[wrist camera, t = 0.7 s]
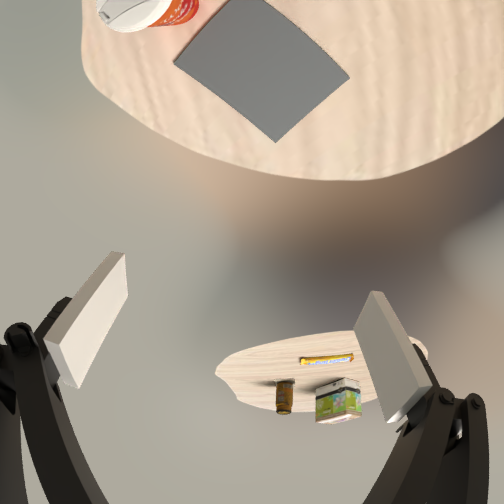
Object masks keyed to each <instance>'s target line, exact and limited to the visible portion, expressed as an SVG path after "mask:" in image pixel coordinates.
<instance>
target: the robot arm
mask: <svg viewBox="0 0 504 504" xmlns="http://www.w3.org/2000/svg"><path fill="white" fill-rule="evenodd" d="M125 269H126V268H125V254H124V253H119V252H113V251H112V252H111V253H110V254H109V255H108V256H107V257H106V258H105V260H104V261H103V262H102V263H101V264H100V265H99V267H98V268H97V269H96V270H95V271H94V272H93V274H92V275H91V276H90V277H89V279H88V280H87V281H86V282H85V284H84V285H83V286H82V287H81V288H80V290H79V291H78V292H77V294H76V295H75V296H74V297H73V298H69V297H65V298H63V299H62V300H60V301H59V302H57V303H56V305H55V306H54V307H53V308H52V310H51V311H50V312H49V314H48V315H47V317H46V318H45V319H44V320H43V321H42V323H41V324H40V325H39V327H38V328H37V329H36V331H35V332H34V333H33V332H32V329H31V327H30V326H29V325H28V324H26V323H23V322H21V323H15V324H13V325H11V326H10V327H9V328H8V329H7V330H6V332H5V334H4V339H5V341H6V343H7V345H1V344H0V504H28V499H27V494H26V488H25V481H24V474H23V464H22V453H21V433H20V416H21V420H22V424H23V429H24V433H25V437H26V440H27V444H28V447H29V451H30V454H31V457H32V460H33V463H34V466H35V469H36V472H37V475H38V477H39V480H40V483H41V485H42V488H43V490H44V493H45V495H46V497H47V499H48V502H49V504H109V503H108V502H107V500H106V498H105V497H104V495H103V493H102V491H101V489H100V488H99V486H98V484H97V482H96V480H95V478H94V476H93V474H92V472H91V470H90V468H89V466H88V464H87V462H86V460H85V457H84V455H83V453H82V451H81V448H80V446H79V444H78V441H77V438H76V436H75V434H74V431H73V428H72V425H71V423H70V420H69V417H68V414H67V411H66V408H65V405H64V402H63V399H62V396H61V392H60V389H59V386H58V384H57V381H58V379H59V376H61V378H62V380H63V382H64V384H66V385H69V386H72V387H74V388H77V389H79V388H80V386H81V384H82V382H83V380H84V378H85V376H86V373H87V371H88V369H89V367H90V365H91V363H92V361H93V359H94V357H95V355H96V354H97V351H98V350H99V348H100V346H101V344H102V342H103V340H104V338H105V336H106V335H107V333H108V331H109V329H110V327H111V325H112V324H113V321H114V320H115V318H116V316H117V315H118V313H119V311H120V309H121V308H122V306H123V304H124V302H125V300H126V299H127V297H128V293H127V282H126V270H125ZM353 329H354V331H355V334H356V337H357V339H358V342H359V345H360V347H361V350H362V353H363V356H364V358H365V361H366V364H367V367H368V370H369V372H370V375H371V378H372V381H373V384H374V387H375V390H376V393H377V396H378V399H379V402H380V405H381V408H382V411H383V415H384V418H385V421H386V423H389V422H396V421H400V420H401V419H402V418H403V417H404V416H405V415H407V417H408V420H407V421H406V422H405V423H404V424H403V425H402V426H400V427H399V428H398V429H397V431H396V432H399V431H400V430H401V429H402V430H401V433H400V435H399V437H398V439H397V442H396V444H395V446H394V448H393V450H392V452H391V454H390V456H389V458H388V460H387V462H386V464H385V466H384V468H383V470H382V472H381V473H380V475H379V477H378V479H377V481H376V482H375V484H374V486H373V488H372V489H371V491H370V493H369V494H368V496H367V498H366V499H365V501H364V503H363V504H487V500H488V486H489V445H488V444H489V443H488V429H487V419H486V409H485V404H484V401H483V399H482V398H481V397H480V396H479V395H477V394H475V393H471V394H469V395H468V396H467V397H466V398H465V399H458V398H455V397H454V395H453V393H452V392H451V391H450V390H448V389H446V388H441V387H440V385H439V383H438V381H437V379H436V377H435V375H434V373H433V372H432V369H431V367H430V366H429V364H428V362H427V360H426V358H425V356H424V354H423V352H422V350H421V349H420V348H419V347H418V346H417V345H416V344H412V343H411V341H410V339H409V338H408V336H407V334H406V332H405V330H404V329H403V327H402V325H401V323H400V321H399V320H398V318H397V316H396V314H395V313H394V311H393V309H392V307H391V306H390V304H389V302H388V301H387V299H386V297H385V296H384V294H383V292H376V291H371V292H370V294H369V297H368V299H367V301H366V303H365V305H364V307H363V309H362V311H361V314H360V316H359V318H358V320H357V322H356V324H355V326H354V328H353ZM461 432H462V437H461V438H460V439H459V434H460V433H461ZM426 502H427V503H426Z"/></svg>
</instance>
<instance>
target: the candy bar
mask: <svg viewBox="0 0 504 504" xmlns="http://www.w3.org/2000/svg"><path fill="white" fill-rule="evenodd" d="M352 356H353V354H346V355H335V356H322V357H309V358H305V359H301V364H300V365H302V364H306V365H313V364H327V363H336V362H344V361H350V362H351V361H352V360H353V359H354V357H352Z"/></svg>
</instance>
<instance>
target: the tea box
mask: <svg viewBox="0 0 504 504" xmlns="http://www.w3.org/2000/svg"><path fill="white" fill-rule="evenodd" d="M361 415H362V414H361V394H360V382H357V381H354V380H351V379H347V378H343V379H341V380H339V381H337V382H334V383H331V384H328V385H325V386H322V387H319V388H316V422H318V423H326V424H335V423H339V422H343V421H347V420H350V419H354V418H358V417H361Z"/></svg>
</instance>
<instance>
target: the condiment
mask: <svg viewBox="0 0 504 504" xmlns="http://www.w3.org/2000/svg"><path fill="white" fill-rule="evenodd" d="M274 381H275V384H276V388H277V389H276V407H277V411H276V412H277V413H278V414H290V413H291V407H292V405H293V387H295V380H294V379H274Z"/></svg>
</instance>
